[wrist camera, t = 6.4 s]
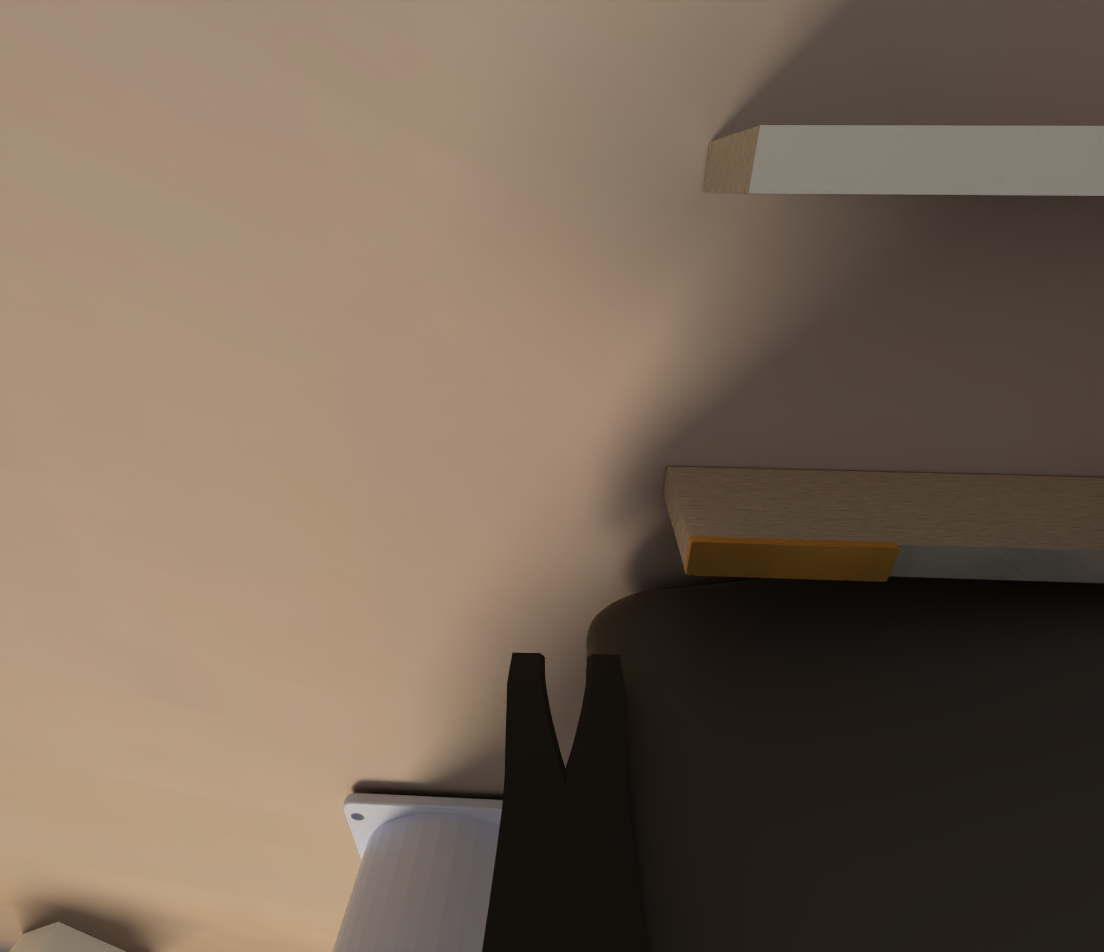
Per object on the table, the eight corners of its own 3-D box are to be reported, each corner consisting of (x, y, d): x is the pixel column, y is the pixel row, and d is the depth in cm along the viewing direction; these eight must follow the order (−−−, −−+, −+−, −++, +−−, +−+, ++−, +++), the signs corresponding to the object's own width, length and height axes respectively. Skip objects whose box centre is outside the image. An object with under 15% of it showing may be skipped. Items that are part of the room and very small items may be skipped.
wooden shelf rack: (1023, 812, 19) (1121, 950, 16) (624, 794, 20) (634, 922, 16) (1579, 145, 9) (2216, 119, 5) (709, 142, 9) (786, 116, 6)
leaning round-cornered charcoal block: (599, 680, 17) (634, 1174, 9) (579, 579, 14) (605, 1148, 6) (1157, 630, 15) (1818, 1187, 7) (1250, 506, 12) (2439, 1159, 5)
